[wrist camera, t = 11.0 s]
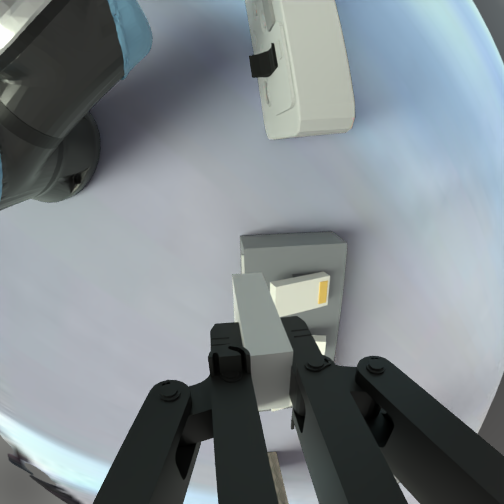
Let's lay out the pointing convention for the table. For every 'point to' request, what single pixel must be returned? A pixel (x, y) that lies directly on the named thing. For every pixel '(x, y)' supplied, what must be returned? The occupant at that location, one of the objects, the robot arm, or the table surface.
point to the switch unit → (302, 272)
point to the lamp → (277, 478)
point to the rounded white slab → (300, 67)
